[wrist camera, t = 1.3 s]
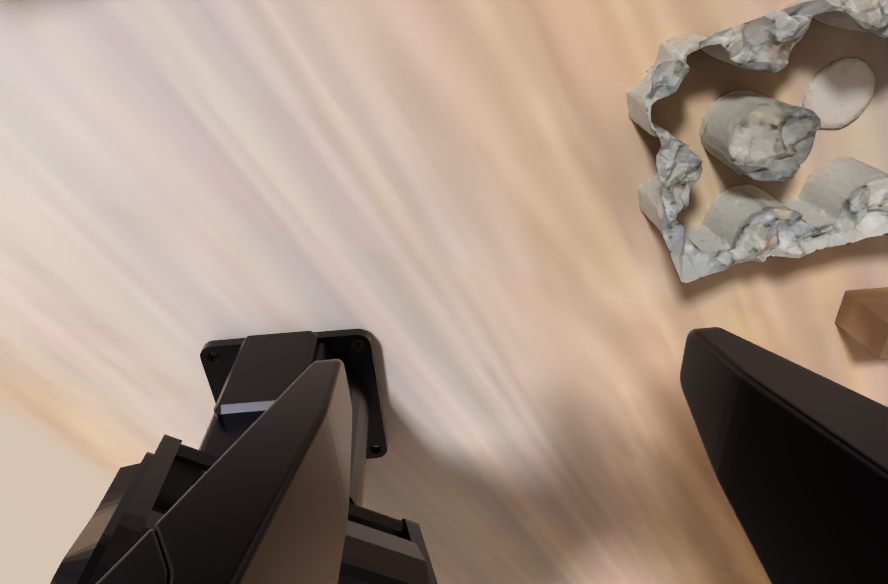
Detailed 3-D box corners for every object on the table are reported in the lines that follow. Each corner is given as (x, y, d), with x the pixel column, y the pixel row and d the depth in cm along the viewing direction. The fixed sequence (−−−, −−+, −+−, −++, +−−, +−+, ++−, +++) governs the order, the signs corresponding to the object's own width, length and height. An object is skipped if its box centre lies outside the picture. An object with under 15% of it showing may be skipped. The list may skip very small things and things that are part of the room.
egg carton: (971, -58, 17) (1118, -62, 14) (921, 179, 21) (1027, 224, 17) (615, 30, 18) (667, 48, 14) (629, 245, 22) (673, 301, 18)
